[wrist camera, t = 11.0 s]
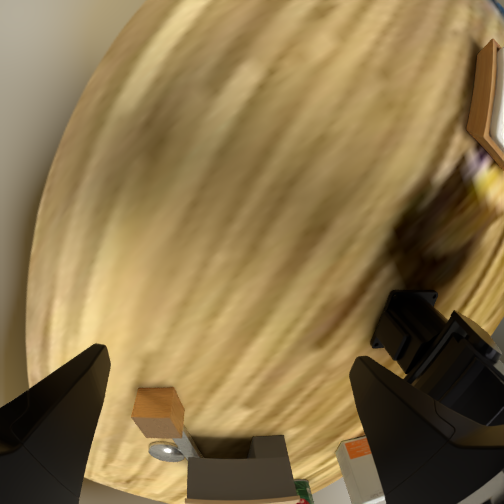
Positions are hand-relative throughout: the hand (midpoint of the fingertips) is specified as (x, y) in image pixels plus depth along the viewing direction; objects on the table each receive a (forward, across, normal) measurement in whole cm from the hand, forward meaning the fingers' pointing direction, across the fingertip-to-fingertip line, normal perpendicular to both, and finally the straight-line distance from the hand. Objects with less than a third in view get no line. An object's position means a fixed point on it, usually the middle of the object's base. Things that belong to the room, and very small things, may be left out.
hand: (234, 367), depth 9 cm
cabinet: (+12, -3, +30) cm, 33 cm away
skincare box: (+12, -22, +31) cm, 40 cm away
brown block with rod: (+12, +4, +24) cm, 27 cm away
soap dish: (+12, -25, -18) cm, 33 cm away
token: (+12, +6, +30) cm, 33 cm away
